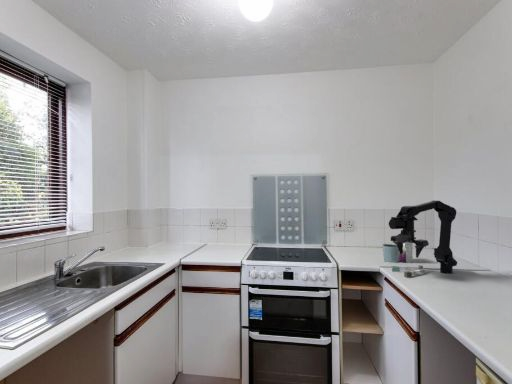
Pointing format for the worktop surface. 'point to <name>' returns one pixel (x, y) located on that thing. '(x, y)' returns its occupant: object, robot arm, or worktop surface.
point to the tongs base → (414, 272)
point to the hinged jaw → (402, 269)
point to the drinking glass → (390, 253)
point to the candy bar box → (406, 253)
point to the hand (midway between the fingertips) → (408, 255)
